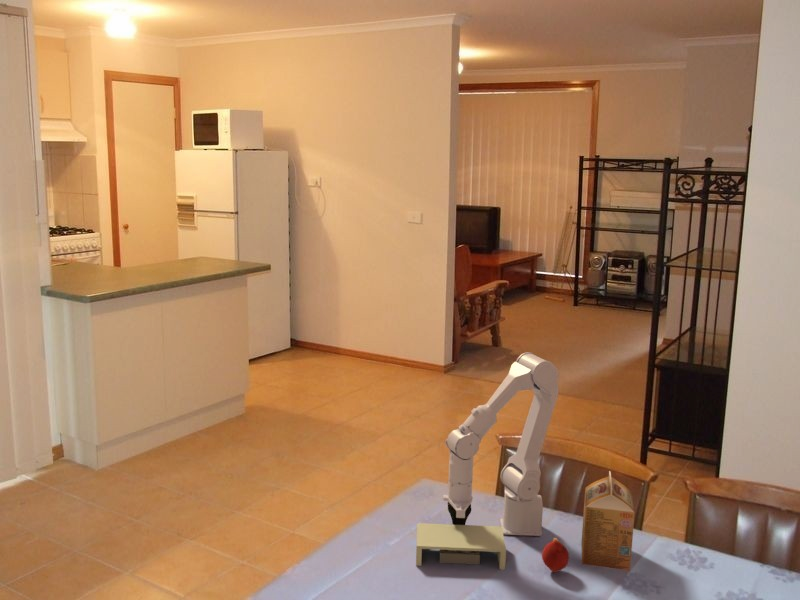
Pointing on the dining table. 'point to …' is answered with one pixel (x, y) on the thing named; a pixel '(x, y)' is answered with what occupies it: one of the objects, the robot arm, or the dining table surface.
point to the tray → (460, 556)
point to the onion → (555, 556)
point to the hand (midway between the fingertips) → (458, 532)
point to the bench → (461, 539)
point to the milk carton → (607, 525)
